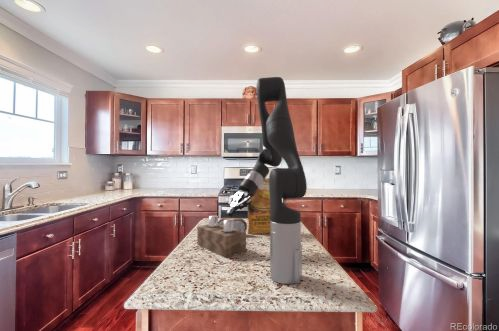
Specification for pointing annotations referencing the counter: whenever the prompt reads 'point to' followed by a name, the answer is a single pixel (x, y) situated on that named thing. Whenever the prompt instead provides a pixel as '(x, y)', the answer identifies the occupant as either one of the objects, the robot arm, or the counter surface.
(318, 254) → the counter surface
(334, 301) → the counter surface
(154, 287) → the counter surface
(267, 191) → the pancake mix bag
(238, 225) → the tin
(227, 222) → the peg
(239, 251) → the collar block
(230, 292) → the counter surface
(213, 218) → the peg
